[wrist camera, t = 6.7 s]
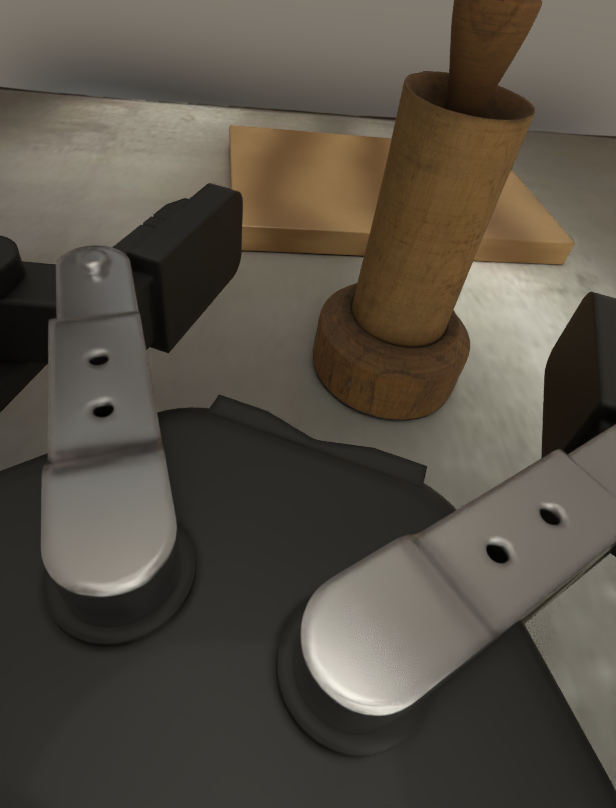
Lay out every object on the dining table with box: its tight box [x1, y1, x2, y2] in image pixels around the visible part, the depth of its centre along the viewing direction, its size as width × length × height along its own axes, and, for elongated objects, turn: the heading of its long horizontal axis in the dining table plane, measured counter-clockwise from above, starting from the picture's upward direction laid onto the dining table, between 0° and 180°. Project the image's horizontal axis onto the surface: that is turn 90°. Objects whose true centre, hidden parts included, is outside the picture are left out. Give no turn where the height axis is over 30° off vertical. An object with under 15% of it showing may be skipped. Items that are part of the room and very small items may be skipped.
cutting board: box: [229, 125, 574, 264], centre depth 34 cm, size 20×14×2 cm
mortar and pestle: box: [313, 0, 542, 420], centre depth 17 cm, size 7×6×18 cm
